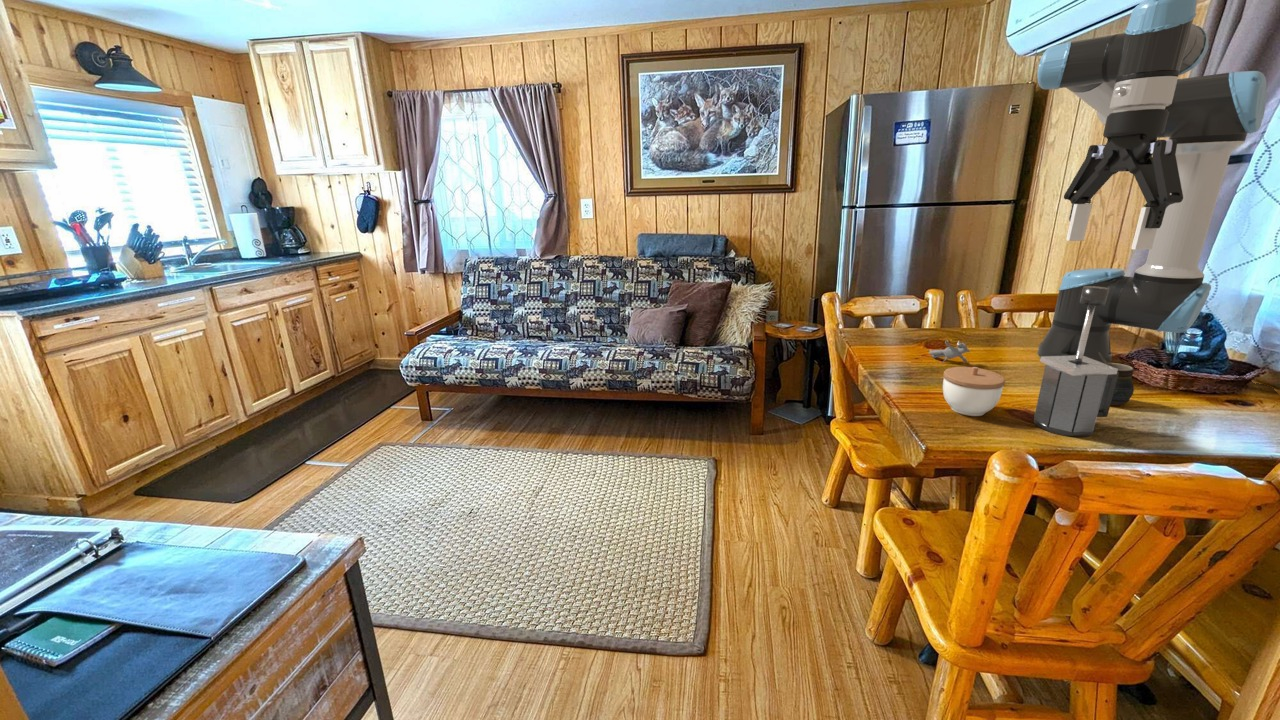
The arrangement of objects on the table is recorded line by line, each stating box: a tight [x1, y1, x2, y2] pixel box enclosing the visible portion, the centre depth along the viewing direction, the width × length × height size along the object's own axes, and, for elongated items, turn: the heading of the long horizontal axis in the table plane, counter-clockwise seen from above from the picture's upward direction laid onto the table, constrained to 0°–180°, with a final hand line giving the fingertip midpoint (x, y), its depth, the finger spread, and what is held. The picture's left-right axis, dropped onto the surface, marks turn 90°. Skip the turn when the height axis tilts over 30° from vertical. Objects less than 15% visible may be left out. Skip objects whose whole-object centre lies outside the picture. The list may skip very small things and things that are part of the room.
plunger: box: [1074, 286, 1109, 365], centre depth 99 cm, size 6×6×18 cm
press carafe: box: [1033, 355, 1119, 438], centre depth 102 cm, size 12×9×13 cm
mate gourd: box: [1098, 352, 1135, 407], centre depth 114 cm, size 7×8×10 cm
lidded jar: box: [942, 366, 1006, 417], centre depth 111 cm, size 11×11×9 cm
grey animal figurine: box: [929, 340, 971, 363], centre depth 141 cm, size 10×6×9 cm
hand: (1105, 244), depth 94 cm, fingers open, 13 cm apart
